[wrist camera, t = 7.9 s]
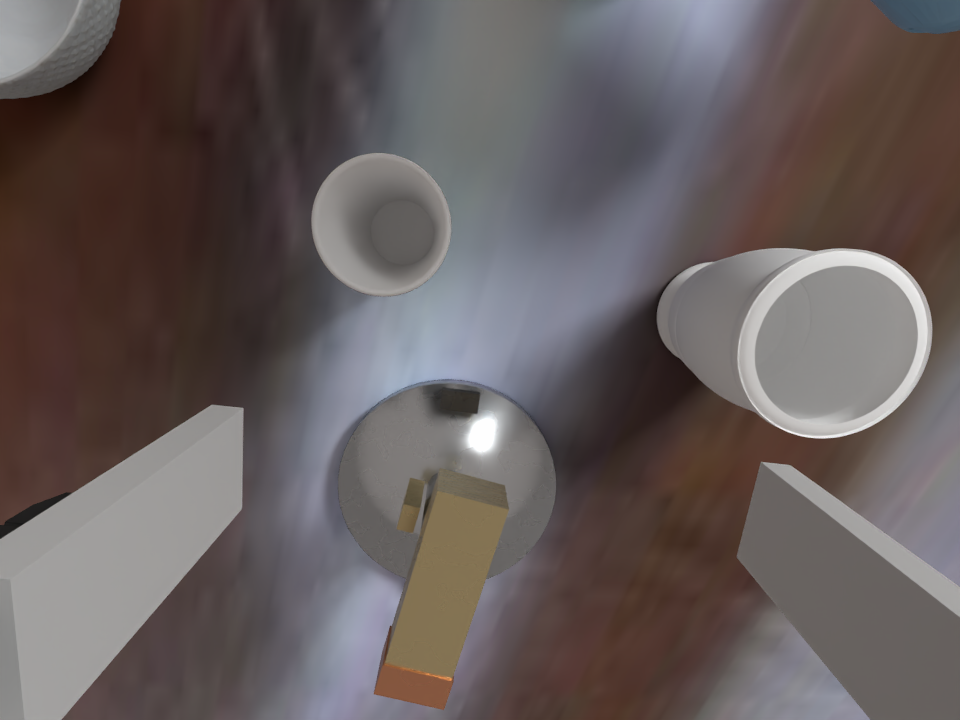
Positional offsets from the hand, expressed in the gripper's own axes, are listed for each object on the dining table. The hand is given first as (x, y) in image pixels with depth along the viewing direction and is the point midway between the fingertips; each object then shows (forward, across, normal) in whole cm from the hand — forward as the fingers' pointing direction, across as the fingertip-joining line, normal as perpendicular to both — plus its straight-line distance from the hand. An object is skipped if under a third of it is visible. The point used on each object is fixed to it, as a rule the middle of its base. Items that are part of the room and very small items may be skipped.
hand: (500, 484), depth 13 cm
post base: (+29, -1, -14) cm, 32 cm away
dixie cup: (+30, -7, +6) cm, 31 cm away
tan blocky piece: (+26, -1, -14) cm, 29 cm away
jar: (+30, +18, +2) cm, 35 cm away
